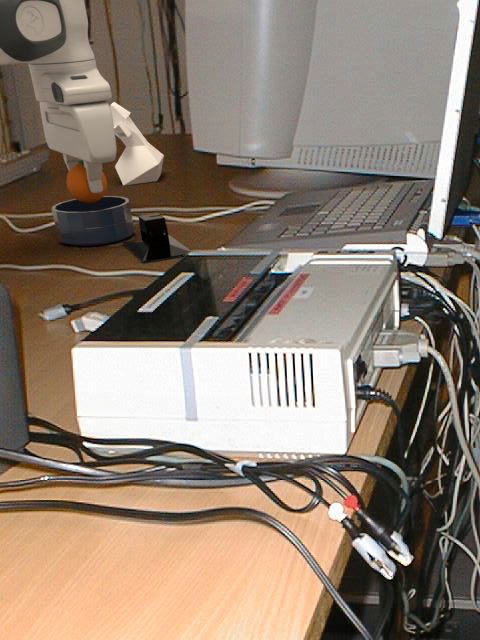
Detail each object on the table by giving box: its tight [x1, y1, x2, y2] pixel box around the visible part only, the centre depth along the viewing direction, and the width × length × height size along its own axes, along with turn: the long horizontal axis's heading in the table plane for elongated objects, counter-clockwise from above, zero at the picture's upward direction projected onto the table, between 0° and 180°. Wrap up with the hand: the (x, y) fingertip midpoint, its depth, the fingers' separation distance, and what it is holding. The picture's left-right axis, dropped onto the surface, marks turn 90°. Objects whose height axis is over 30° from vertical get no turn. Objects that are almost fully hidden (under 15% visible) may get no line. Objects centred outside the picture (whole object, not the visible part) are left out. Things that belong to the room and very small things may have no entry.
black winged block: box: [122, 212, 191, 264], centre depth 127 cm, size 12×7×5 cm, turn 27°
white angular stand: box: [109, 101, 165, 186], centre depth 173 cm, size 8×14×14 cm, turn 6°
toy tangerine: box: [66, 160, 108, 203], centre depth 131 cm, size 6×6×6 cm
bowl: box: [51, 195, 135, 247], centre depth 134 cm, size 11×11×5 cm
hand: (88, 188), depth 132 cm, fingers closed on toy tangerine, 5 cm apart
